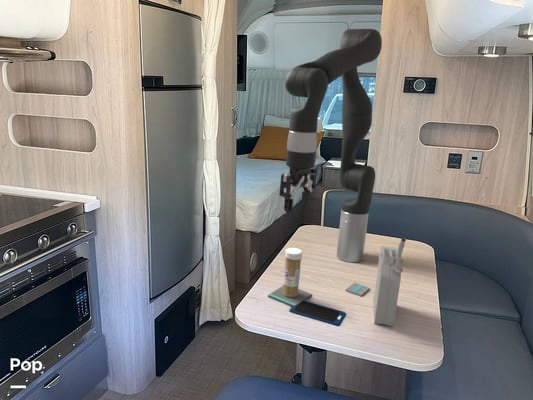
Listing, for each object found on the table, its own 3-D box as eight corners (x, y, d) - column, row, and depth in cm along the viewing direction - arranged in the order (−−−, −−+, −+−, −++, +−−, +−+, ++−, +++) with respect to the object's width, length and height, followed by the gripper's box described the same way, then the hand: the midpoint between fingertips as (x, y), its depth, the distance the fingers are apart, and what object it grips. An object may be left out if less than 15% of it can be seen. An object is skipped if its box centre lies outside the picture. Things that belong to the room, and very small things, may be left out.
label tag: (354, 284, 133) (354, 282, 133) (369, 289, 131) (369, 287, 130) (345, 290, 129) (345, 289, 129) (361, 296, 126) (361, 294, 126)
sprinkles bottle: (279, 294, 123) (282, 250, 120) (288, 288, 127) (292, 245, 123) (292, 299, 121) (296, 255, 117) (301, 294, 124) (305, 250, 120)
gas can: (394, 333, 109) (409, 239, 102) (374, 329, 110) (387, 237, 103) (391, 303, 123) (404, 220, 116) (373, 300, 124) (384, 217, 117)
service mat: (285, 285, 130) (285, 283, 130) (311, 295, 125) (311, 293, 125) (267, 296, 123) (268, 294, 123) (294, 307, 118) (294, 305, 118)
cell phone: (338, 327, 110) (339, 325, 110) (288, 312, 116) (288, 310, 116) (346, 314, 117) (346, 312, 116) (298, 301, 122) (298, 298, 122)
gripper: (299, 153, 105) (294, 217, 109) (327, 147, 116) (322, 206, 120) (273, 149, 109) (270, 211, 113) (303, 144, 120) (299, 200, 124)
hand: (297, 208), depth 117 cm, fingers open, 8 cm apart
